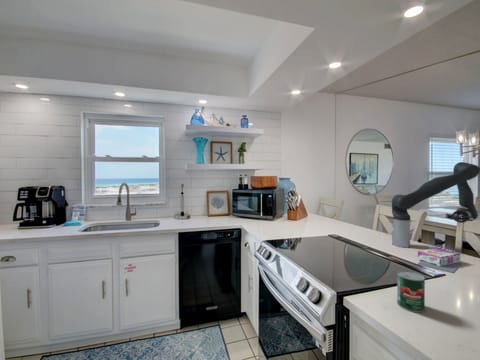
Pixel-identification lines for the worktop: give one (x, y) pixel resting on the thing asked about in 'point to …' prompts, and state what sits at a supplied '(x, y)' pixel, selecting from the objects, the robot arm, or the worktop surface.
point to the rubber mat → (446, 268)
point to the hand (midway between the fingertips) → (455, 218)
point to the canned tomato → (411, 291)
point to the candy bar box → (439, 256)
